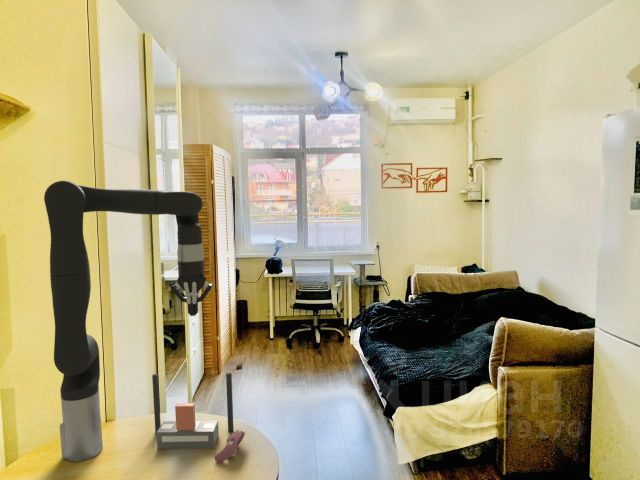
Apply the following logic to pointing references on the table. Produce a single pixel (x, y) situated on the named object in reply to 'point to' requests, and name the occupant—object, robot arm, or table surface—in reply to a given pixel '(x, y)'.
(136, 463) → the table surface
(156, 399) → the cord posts
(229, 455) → the video game controller
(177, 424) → the block
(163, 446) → the breaker block
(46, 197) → the robot arm
